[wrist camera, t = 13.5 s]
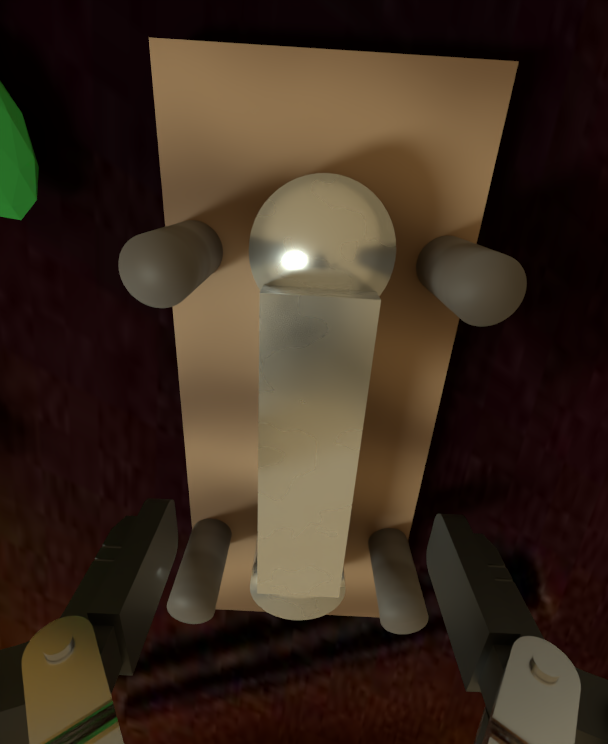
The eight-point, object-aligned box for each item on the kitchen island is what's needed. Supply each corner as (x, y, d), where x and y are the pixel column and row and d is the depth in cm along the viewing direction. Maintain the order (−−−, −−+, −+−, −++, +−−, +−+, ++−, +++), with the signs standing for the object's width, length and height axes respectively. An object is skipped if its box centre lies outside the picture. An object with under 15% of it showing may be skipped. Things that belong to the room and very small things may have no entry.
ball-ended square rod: (391, 179, 13) (416, 177, 10) (337, 576, 22) (342, 643, 18) (259, 170, 13) (242, 166, 10) (256, 572, 22) (246, 638, 18)
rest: (385, 593, 24) (404, 698, 19) (205, 584, 24) (178, 687, 19) (497, 74, 13) (609, 7, 8) (165, 52, 13) (76, -28, 8)
